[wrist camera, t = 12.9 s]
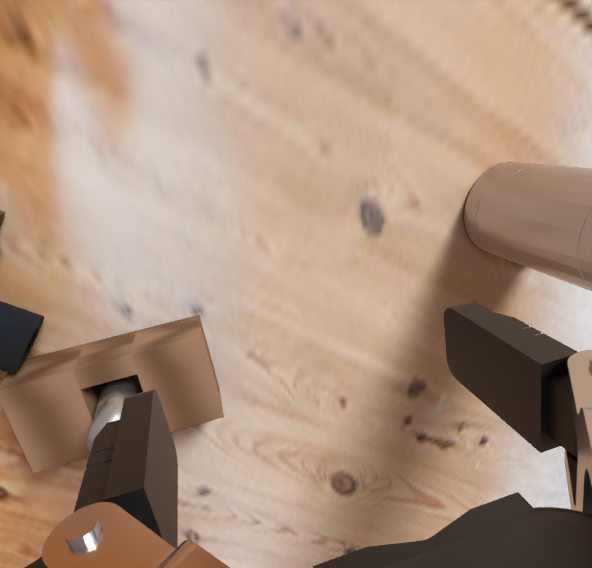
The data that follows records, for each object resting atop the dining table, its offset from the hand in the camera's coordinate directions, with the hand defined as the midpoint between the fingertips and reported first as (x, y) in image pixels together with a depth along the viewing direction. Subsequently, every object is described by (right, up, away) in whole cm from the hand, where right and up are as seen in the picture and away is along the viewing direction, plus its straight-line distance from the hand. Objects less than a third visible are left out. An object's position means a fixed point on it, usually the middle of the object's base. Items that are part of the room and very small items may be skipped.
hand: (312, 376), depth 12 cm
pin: (-16, -6, +30) cm, 35 cm away
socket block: (-16, -6, +30) cm, 35 cm away
